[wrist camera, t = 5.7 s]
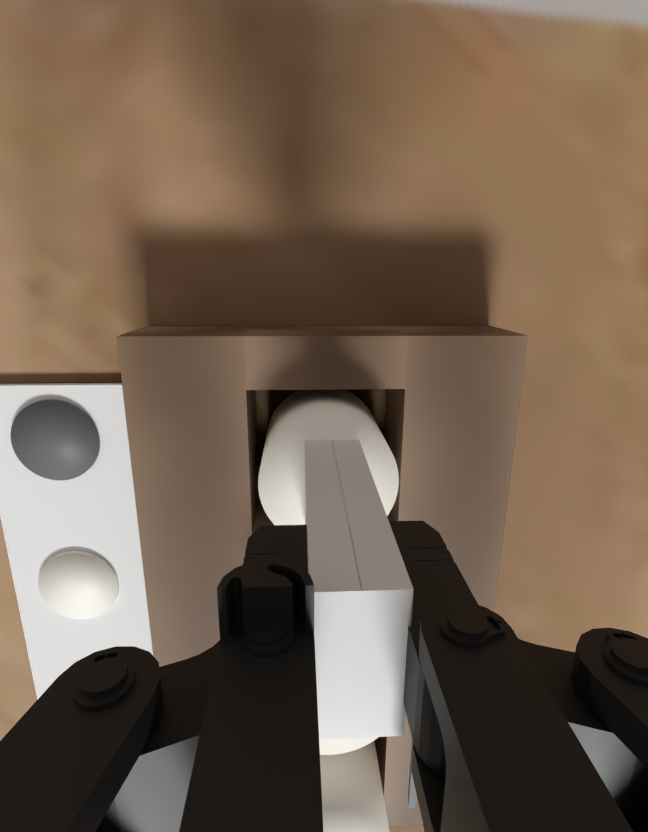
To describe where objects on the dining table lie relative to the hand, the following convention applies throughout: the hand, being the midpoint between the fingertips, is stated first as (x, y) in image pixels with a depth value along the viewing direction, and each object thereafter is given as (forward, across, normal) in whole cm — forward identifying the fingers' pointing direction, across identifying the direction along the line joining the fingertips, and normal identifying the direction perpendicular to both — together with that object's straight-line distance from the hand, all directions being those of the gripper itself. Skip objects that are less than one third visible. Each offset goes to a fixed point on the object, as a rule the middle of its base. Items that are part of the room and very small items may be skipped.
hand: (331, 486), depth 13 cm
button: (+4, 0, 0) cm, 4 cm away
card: (+5, -10, -6) cm, 12 cm away
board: (+5, 0, -6) cm, 8 cm away
